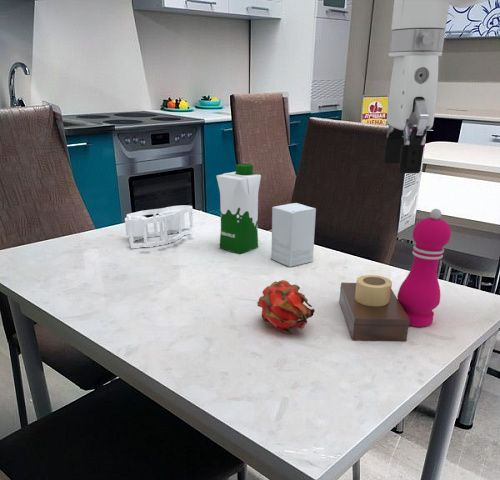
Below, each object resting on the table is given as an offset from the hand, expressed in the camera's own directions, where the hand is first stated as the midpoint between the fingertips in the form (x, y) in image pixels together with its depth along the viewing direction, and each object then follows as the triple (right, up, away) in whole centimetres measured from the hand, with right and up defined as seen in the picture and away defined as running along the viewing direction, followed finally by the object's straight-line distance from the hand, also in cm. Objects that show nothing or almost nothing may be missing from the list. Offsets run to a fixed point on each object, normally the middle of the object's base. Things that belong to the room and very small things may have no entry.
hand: (400, 167), depth 81 cm
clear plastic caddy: (-48, -2, +54) cm, 72 cm away
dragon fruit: (-18, -26, +8) cm, 32 cm away
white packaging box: (-14, -9, +39) cm, 42 cm away
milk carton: (-27, -5, +47) cm, 54 cm away
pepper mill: (+5, -24, +10) cm, 27 cm away
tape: (-3, -21, +8) cm, 22 cm away
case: (-3, -24, +10) cm, 26 cm away
